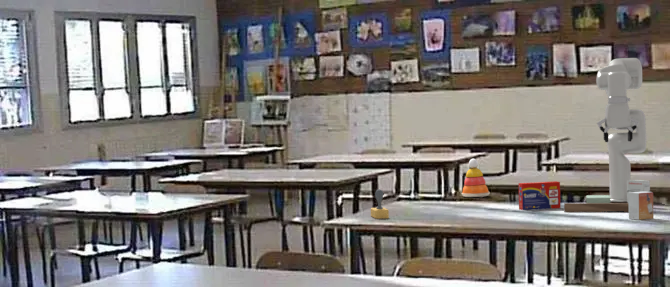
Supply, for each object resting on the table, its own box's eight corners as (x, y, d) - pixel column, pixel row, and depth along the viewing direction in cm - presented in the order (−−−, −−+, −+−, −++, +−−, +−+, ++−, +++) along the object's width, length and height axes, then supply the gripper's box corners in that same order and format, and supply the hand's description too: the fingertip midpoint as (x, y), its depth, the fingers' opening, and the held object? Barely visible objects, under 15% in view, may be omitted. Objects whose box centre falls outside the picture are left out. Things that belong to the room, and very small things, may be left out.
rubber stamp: (388, 218, 411) (388, 189, 411) (375, 218, 410) (374, 190, 410) (383, 215, 421) (383, 188, 421) (370, 216, 420) (369, 188, 420)
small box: (638, 220, 378) (638, 193, 378) (628, 219, 383) (627, 192, 383) (654, 218, 382) (653, 191, 381) (643, 217, 387) (643, 190, 386)
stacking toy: (492, 195, 500) (491, 157, 499) (486, 198, 487) (485, 159, 486) (465, 195, 505) (464, 157, 504) (458, 198, 492) (457, 159, 491)
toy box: (556, 207, 435) (555, 181, 434) (560, 208, 431) (560, 181, 430) (518, 209, 430) (518, 183, 430) (522, 210, 427) (522, 183, 426)
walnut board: (564, 211, 416) (564, 203, 416) (633, 211, 409) (633, 202, 409) (564, 211, 414) (564, 203, 414) (633, 211, 407) (633, 203, 407)
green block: (586, 207, 431) (586, 195, 431) (610, 207, 429) (610, 195, 429) (586, 210, 420) (586, 197, 420) (610, 210, 417) (610, 197, 417)
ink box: (650, 207, 423) (650, 180, 423) (644, 208, 420) (643, 180, 419) (633, 206, 430) (633, 179, 429) (627, 207, 426) (626, 180, 426)
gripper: (635, 100, 415) (636, 140, 416) (594, 101, 416) (595, 142, 417) (640, 100, 408) (641, 141, 409) (598, 101, 408) (599, 142, 409)
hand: (618, 141), depth 413 cm, fingers open, 9 cm apart
